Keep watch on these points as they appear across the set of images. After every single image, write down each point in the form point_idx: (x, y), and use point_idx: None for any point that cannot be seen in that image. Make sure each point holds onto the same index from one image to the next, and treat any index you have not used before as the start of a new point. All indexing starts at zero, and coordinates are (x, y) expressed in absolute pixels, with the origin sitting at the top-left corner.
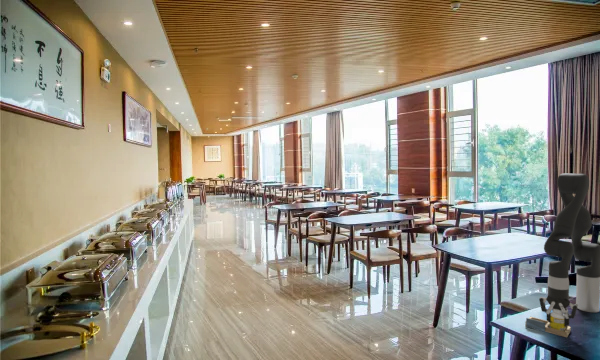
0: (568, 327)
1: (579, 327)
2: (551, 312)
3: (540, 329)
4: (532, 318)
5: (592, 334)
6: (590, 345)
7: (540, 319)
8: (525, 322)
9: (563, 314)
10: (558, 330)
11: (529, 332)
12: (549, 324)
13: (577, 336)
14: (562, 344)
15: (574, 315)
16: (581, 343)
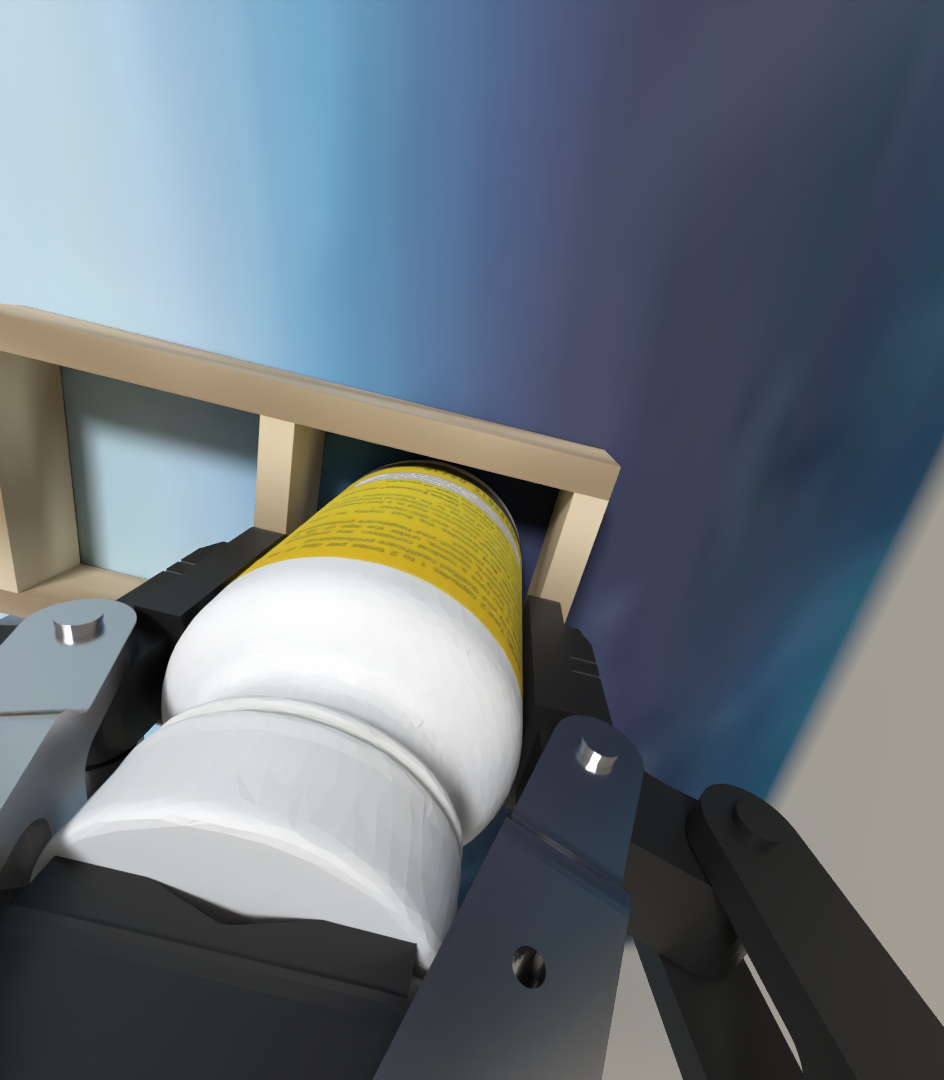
0: (574, 532)
1: (813, 148)
2: (162, 716)
3: None
4: (7, 349)
5: (928, 417)
6: (741, 780)
7: (124, 372)
8: (4, 605)
9: (470, 782)
10: None
11: (154, 724)
12: (296, 495)
13: (659, 602)
14: (465, 851)
15: (767, 1035)
16: (655, 770)
